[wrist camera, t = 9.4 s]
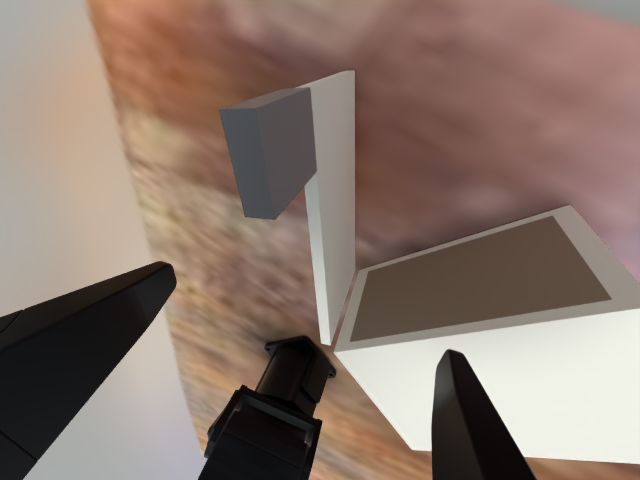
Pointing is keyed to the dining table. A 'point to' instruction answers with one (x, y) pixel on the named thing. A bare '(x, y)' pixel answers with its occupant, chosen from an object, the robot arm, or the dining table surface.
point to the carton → (507, 336)
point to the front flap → (303, 174)
